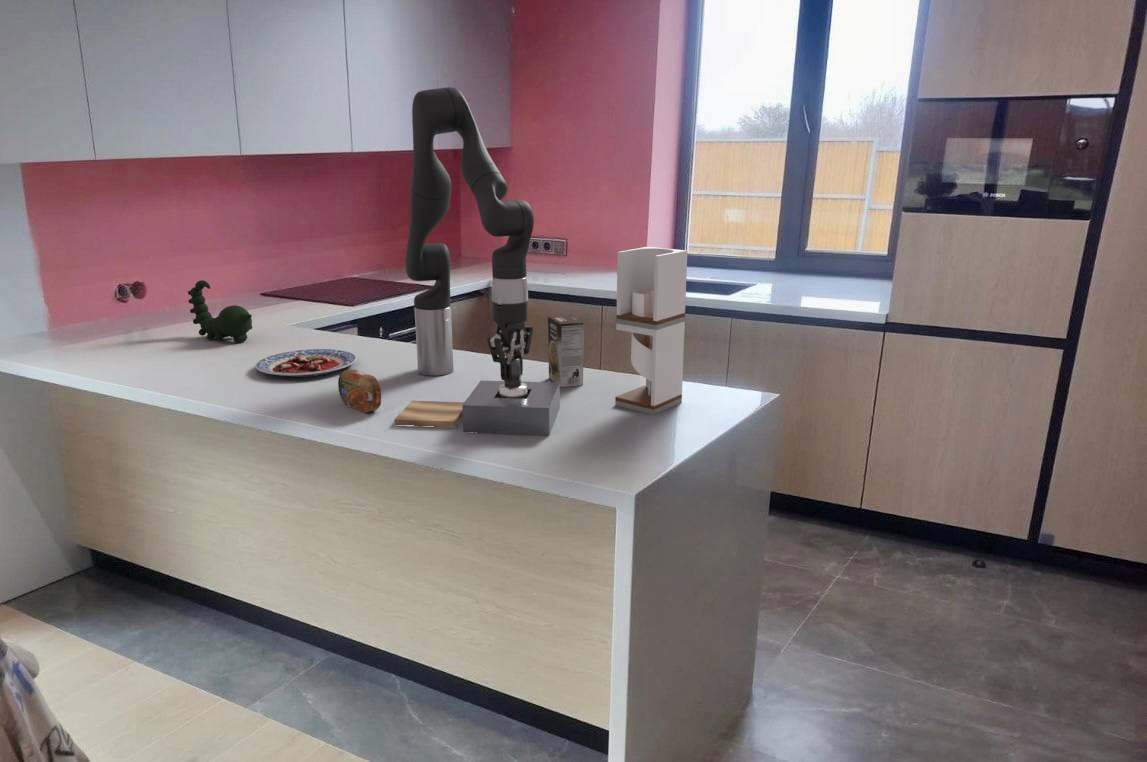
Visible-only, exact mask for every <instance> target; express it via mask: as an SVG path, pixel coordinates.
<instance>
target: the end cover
mask: <svg viewBox="0 0 1147 762" xmlns="http://www.w3.org/2000/svg"><path fill="white" fill-rule="evenodd" d="M510 364H511V380H510V381H504V380H503V381H504V384H502V385H500V386H499V394H500V398H514V399H527V397H528V393H527V384H525V383H521V382H522V376H521V369H520V358H519V357H512V356H511V363H510Z"/></svg>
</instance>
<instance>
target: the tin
mask: <svg viewBox="0 0 1147 762" xmlns="http://www.w3.org/2000/svg"><path fill="white" fill-rule="evenodd" d="M337 382H338V383H337V387H338V393H339V396H340V399H341V401H342V403H343V404H344V405H346V404H347V405H349V406H351V407H350V408H352V407H353V408H352V409H354V408H355V410H357V409H358V410H357V411H359V410H360V411H359V412H361V411H363V412H362V413H364V412H365V414H366V413H369V412H375V411H377V410H378V409H379V408H380V406H381V404H382V389H381V385H380V383H379V381H378V379H377V377H375V376H374V375H372V374H369V373H366V372H363V371H360V370H357V369H344V370H342V371H340V374H339V376H338V381H337ZM347 405H346V406H347ZM349 406H348V407H349Z"/></svg>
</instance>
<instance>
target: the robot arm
mask: <svg viewBox="0 0 1147 762" xmlns="http://www.w3.org/2000/svg"><path fill="white" fill-rule="evenodd" d="M411 110H412V111H411V117H412V118H411V121H412V146H413V148H412V150H413V154H412V173H411V184H410V207H409V208H410V209H409V210H410V211H409V212H410V213H409V215H410V217H409V219H410V220H409V230H408V237H407V243H406V250H405V262H404V263H405V272H406V275H407V278H408V279H409V280H411V281H413V282H414V281H415V282H428V281H435V283H434V284H433V285H432V286H431V287H429V288H428V289H427V290H424V291H423V292H419V294H418V293H417V294H416V295H415V296H414V299H413V305H414V320H415V321H414V322H415V323H414V324H415V338H416V339H415V340H416V341H415V343H416V358H417V359H416V360H417V361H416V362H417V372H418V373H419V374H420V375H424V376H443V375H448V374H451V373H452V372H454V351H453V350H454V347H453V328H452V327H453V326H452V306H451V256H450V255H451V253H450V250H449V248H448V246H447V245H446V244H445V243H440V242H439V243H435V242H434V243H426V240H427V238H428V236H429V235H430V234H431V232H432V231H433V230H434V229H435V228H436V227H437V226H438V224H440V222H441V221H442V220H443V219H444V218H445V216H446V215H447V212H448V211H449V209H450V205H451V197H452V180H451V177H450V175H449V173H448V171H447V170H446V168H445V167H444V165H443V163H442V162H441V161H440V160H439V158H438V156H437V154H436V152H435V149H434V140H435V136H436V135H437V136H438V135H441V134H448V133H455V132H457V134H459V136H460V137H461V139H462V144H463V145H462V152H461V157H460V158H461V159H460V169H461V174H462V177H463V178H464V180H465V182H466V184H467V186H468V188H469V189H470V191H471V192H472V194H473V196H474V197H475V200H476V203H477V204H476V205H477V208H478V213H479V216H480V220H481V224H482V227H483V229H484V230H485V231H486V232H487V233H488V234H489V235H490V236H493V237H496V238H500V237H501V238H503V237H508V239H507V241H506V243H505V244H504V245H502V246H500V247H497V248H496V249H495V250H493V251H492V254H491V270H492V273H491V274H492V278H491V279H492V280H491V281H492V282H491V312H492V313H491V315H492V321H493V322H494V323H495V324H496V330H495V335H494V336H489V337H488V338H487V344H488V349H489V351H490V355H491V358H492V361H493V363H499V365H500V366H499V368H500V379H501V381H510V380H511V364H510V363H511V357H519V358H520V369H521V377H522V376H523V371H524V370H523V369H524V368H523V367H524V366H523V364H524V363H523V361H524V360H523V359H524V358H525V356H526V355H529V353H530V348H531V343H532V337H533V333H534V327H533V326H529V325H528V326H526V323H525V322H527V321H528V320H529V286H528V279H527V276H528V275H527V255H528V251H529V248H530V242H531V238H532V234H533V231H534V225H535V215H534V212H533V209H532V207H531V205H530V203H528V202H527V201H525V200H523V199H512V200H511V199H510V200H509V199H508V200H503V199H504V198H505V197H506V196H507V194H508V184H507V182H506V180H505V179H504V176H503V175H502V173H501V171H499V169H498V167H497V165H496V164H495V162H494V160H493V159H492V157H491V155H490V154H489V152H488V149H487V147H486V145H485V143H484V141H483V137H482V135H481V133H480V130H479V128H478V125H477V122H476V120H475V118H474V115H473V112H472V110H471V108H470V106H469V103H468V101H467V99H466V97H465V96H464V95H463V93H462V92H461V91H460V90H459V89H458V88H457V87H451V86H450V87H440V88H431V89H424V90H420V91H418V92H417V93H415V95H414V97H413V100H412V107H411ZM505 354H506V355H505Z"/></svg>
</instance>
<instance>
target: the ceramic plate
mask: <svg viewBox="0 0 1147 762" xmlns="http://www.w3.org/2000/svg"><path fill="white" fill-rule="evenodd" d="M357 360H358V357H357V354H355V353H352V352H350V351H347V350H342V349H333V348H332V349H331V348H313V349H309V348H308V349H299V350H292V351H285V352H281V353H277V354H273V355H269V356H266V357H265V358H262V359H260V360H258V361H257V363H255V369H256V370H257V371H259V372H261V373H264V374H267V375H273V376H274V375H275V376H280V377H281V376H282V377H287V376H290V378H305V376H308V377H316V376H315V375H317V376H321V374H322V375H326V374H325V373H327V374H330V373H332V371H333V372H335V371H339V370H341V369H345V368H347V367H349V366H351V365H353V364H355V363H356V361H357ZM329 372H330V373H329Z"/></svg>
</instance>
